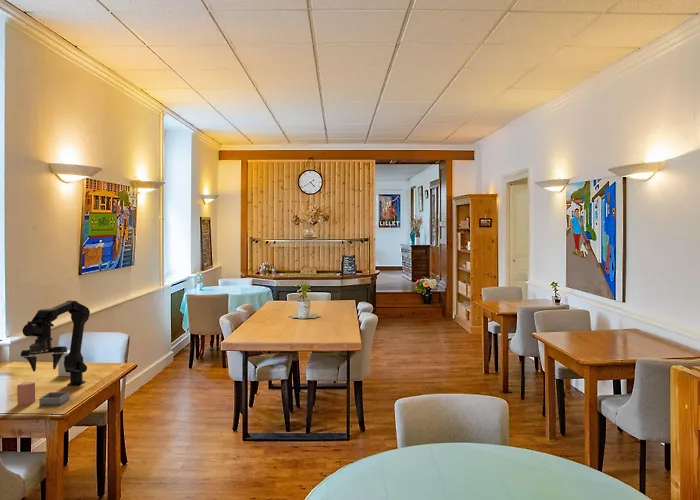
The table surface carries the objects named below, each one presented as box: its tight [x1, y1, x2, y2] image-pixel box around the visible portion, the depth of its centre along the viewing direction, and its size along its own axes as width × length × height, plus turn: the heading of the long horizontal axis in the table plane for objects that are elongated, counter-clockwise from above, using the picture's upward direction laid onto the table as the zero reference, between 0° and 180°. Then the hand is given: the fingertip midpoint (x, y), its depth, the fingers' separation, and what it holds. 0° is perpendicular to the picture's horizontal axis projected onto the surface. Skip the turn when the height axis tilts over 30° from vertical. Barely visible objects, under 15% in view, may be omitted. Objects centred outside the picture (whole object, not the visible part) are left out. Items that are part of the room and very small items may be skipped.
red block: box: [16, 381, 36, 406], centre depth 241 cm, size 5×5×9 cm
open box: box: [38, 391, 70, 407], centre depth 242 cm, size 9×9×4 cm
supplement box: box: [57, 349, 70, 377], centre depth 289 cm, size 7×7×13 cm
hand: (44, 370), depth 245 cm, fingers open, 9 cm apart
